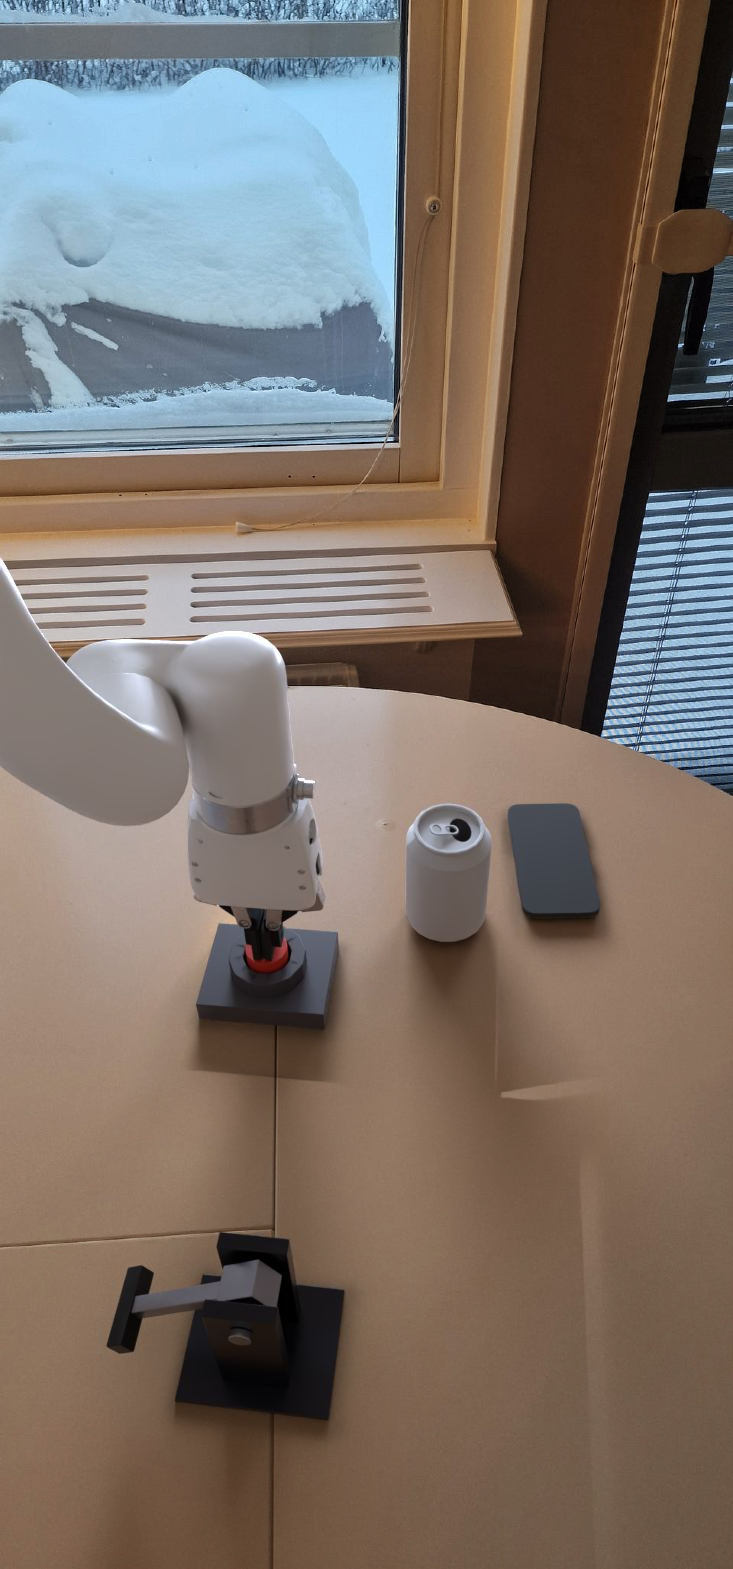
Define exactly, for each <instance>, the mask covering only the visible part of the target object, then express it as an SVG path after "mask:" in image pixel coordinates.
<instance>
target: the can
mask: <svg viewBox="0 0 733 1569" xmlns="http://www.w3.org/2000/svg"><path fill="white" fill-rule="evenodd" d="M492 845H493V843H492V835H491V833H490V831H489V829H488V828H487V826H486V825H485V822H484V821H483V819H482V818H481V816H480V815H479V814H478V813H477V812H476V811H474V810H473V809H471V808H469V807H466V806H465V805H461V804H455V803H440V804H436V805H431V806H430V807H428V808H426V809H424V810H422V811H421V812H420V813H419V814H418V815H417V816H416V817H415V820H414V822H413V823H412V824H411V825H410V826H409V828H408V830H407V833H406V836H405V917H406V919H407V921H408V923H409V925H410V926H411V928H412V929H413V930H414V931H416V932H417V934H418V935H421V936H423V937H425V938H426V939H428V940H432V941H436V942H441V943H444V942H445V943H451V942H452V943H453V942H454V943H455V942H459V941H462V940H466V939H468V938H469V937H471V936H472V935H474V934H476V933H477V932H478V931H479V930H480V928H481V927H482V926H483V925H484V922H485V918H486V915H487V905H488V892H489V882H490V868H491V859H492V858H491V857H492Z"/></svg>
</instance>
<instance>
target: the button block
mask: <svg viewBox="0 0 733 1569" xmlns="http://www.w3.org/2000/svg"><path fill="white" fill-rule="evenodd" d="M283 930H284V938H285V940H286V942H287V948H288V956H289V960H288V964H287V965H286V966H285V967H284V968H283V969H282V970H279V971H276V972H274V973H271V974H265V973H256V972H254V971H253V970H251V969H249V967H248V964H247V957H246V951H245V947H246V941H245V934H244V928H241V927H239V926H238V924H237V923H223V922H218V924H217V928H216V932H215V935H214V938H213V943H212V947H211V950H210V953H209V957H208V960H207V964H206V967H205V971H204V974H203V978H202V981H201V984H200V988H199V992H198V996H197V1000H196V1003H195V1006H196V1011H197V1015H198V1019H199V1020H207V1021H217V1022H218V1021H220V1022H231V1023H239V1024H240V1023H241V1024H242V1023H243V1024H253V1025H265V1026H278V1027H287V1028H288V1027H291V1028H303V1029H312V1030H313V1029H314V1030H326V1026H327V1019H328V1014H329V1009H330V1001H331V996H332V990H333V985H334V984H333V983H334V978H335V972H336V965H337V959H338V954H339V949H340V945H339V944H340V943H339V931H333V930H320V929H319V930H317V929H305V928H292V927H291V928H290V927H285V926H284V925H283Z"/></svg>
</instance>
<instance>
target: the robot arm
mask: <svg viewBox="0 0 733 1569" xmlns="http://www.w3.org/2000/svg"><path fill="white" fill-rule="evenodd" d="M291 724H292V723H291V713H290V700H289V688H288V676H287V671H286V664H285V661H284V659H283V657H282V654H281V653H280V651H279V650H278V648H277V647H276V646H275V645H274V644H273V643H271V642H270V641H269V640H268V639H266V638H264V637H262V636H260V635H257V634H255V633H250V632H246V631H237V630H235V631H234V630H231V631H229V630H228V631H221V632H216V633H212V634H208V635H206V636H202V637H201V638H198V639H196V640H154V639H153V640H152V639H133V638H132V639H131V638H125V639H124V638H121V639H106V640H102V641H95V642H92V643H89V644H86V645H85V646H83V647H81V648H80V649H78V650H77V651H75V652H74V653H73V654H71V656H70V657H69V658H68V659H67V661H66V662H65V661H64V660H63V659H62V657H61V656H59V654H58V653H57V652H56V651H55V649H54V648H53V646H52V645H51V643H50V642H49V641H48V640H47V638H46V636H45V635H44V633H43V632H42V631H41V629H40V627H39V626H38V625H37V623H36V622H35V620H34V618H33V616H32V614H31V613H30V610H29V609H28V606H27V605H26V603H25V601H24V599H23V597H22V594H21V592H20V591H19V589H18V587H17V585H16V583H15V581H14V579H13V576H12V575H11V573H10V571H9V569H8V567H7V566H6V564H5V562H4V561H3V559H2V558H1V557H0V767H1V769H3V771H5V772H7V773H8V774H9V775H10V776H12V777H14V778H15V779H17V780H18V781H20V782H21V783H23V784H24V785H26V786H28V787H29V788H31V789H32V790H35V791H36V792H38V793H40V794H41V795H43V796H45V797H47V798H48V799H50V800H52V801H54V802H55V803H57V804H58V805H61V806H63V807H64V808H66V809H67V810H69V811H72V812H73V813H76V814H77V815H80V816H82V817H85V818H87V819H90V820H92V821H95V822H98V823H101V824H105V825H111V826H116V827H117V826H118V827H136V826H144V825H147V824H150V823H153V822H155V821H158V820H160V819H161V818H163V817H165V816H166V815H167V814H169V813H170V812H171V811H172V810H173V809H174V808H175V807H176V806H177V805H178V804H179V802H180V800H181V799H182V797H183V796H184V794H185V791H186V789H187V786H188V783H189V782H188V781H189V774H190V778H191V779H190V780H191V785H192V792H191V794H190V799H189V804H188V812H187V824H186V826H187V827H186V845H187V846H186V848H187V850H186V852H187V867H188V875H189V881H190V886H191V891H192V893H193V899H194V900H195V901H196V902H199V903H203V904H207V905H210V906H216V907H217V906H218V907H219V908H220V909H222V910H223V911H224V912H226V913H228V914H229V915H230V916H232V917H233V918H234V919H235V921H236V924H238V926H239V927H241V928H244V934H245V941H246V945H251V947H252V953H253V959H254V960H260V959H262V958H263V957H264V959H266V961H272V960H273V956H274V951H275V947H282V943H283V938H284V930H283V926H284V923H285V922H286V921H287V920H289V919H291V918H292V917H294V916H295V915H297V914H298V913H299V912H301V913H309V912H319V911H320V912H321V911H322V910H323V909H324V906H325V901H326V894H325V891H324V889H323V887H322V885H321V882H320V880H319V878H318V877H321V876H322V875H323V865H324V864H323V863H324V862H323V861H324V859H323V852H322V851H323V850H322V844H321V839H320V833H319V827H318V824H317V823H318V822H317V819H316V816H315V811H314V809H313V806H312V802H311V800H314V799H315V797H316V781H315V780H306V778H303V777H302V778H301V775H300V774H299V773H298V766H297V765H298V764H295V760H294V748H293V737H292V736H293V735H292V725H291Z"/></svg>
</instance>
